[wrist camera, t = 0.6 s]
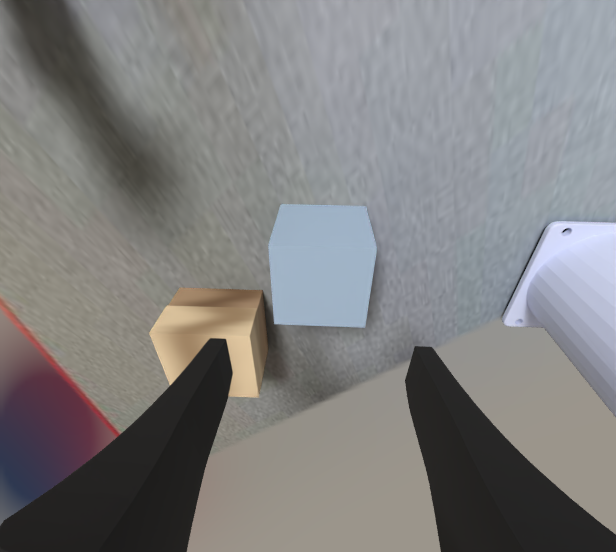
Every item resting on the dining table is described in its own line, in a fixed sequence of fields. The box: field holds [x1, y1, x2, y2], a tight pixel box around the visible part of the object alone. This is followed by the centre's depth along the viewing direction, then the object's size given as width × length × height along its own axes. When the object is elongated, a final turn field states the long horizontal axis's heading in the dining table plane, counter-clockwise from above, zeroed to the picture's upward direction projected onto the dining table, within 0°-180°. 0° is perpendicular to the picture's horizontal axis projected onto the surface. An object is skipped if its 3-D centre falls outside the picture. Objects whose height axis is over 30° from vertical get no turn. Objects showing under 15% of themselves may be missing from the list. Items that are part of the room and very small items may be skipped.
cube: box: [268, 204, 377, 328], centre depth 18 cm, size 5×5×5 cm
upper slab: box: [149, 306, 264, 397], centre depth 21 cm, size 6×6×2 cm
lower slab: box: [168, 288, 268, 368], centre depth 23 cm, size 6×6×2 cm
